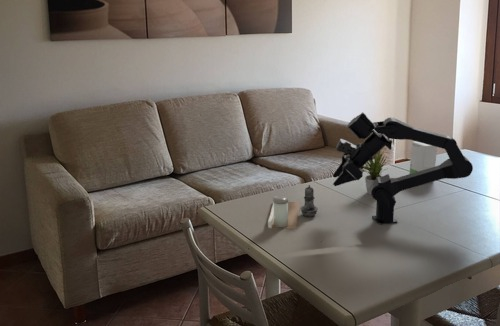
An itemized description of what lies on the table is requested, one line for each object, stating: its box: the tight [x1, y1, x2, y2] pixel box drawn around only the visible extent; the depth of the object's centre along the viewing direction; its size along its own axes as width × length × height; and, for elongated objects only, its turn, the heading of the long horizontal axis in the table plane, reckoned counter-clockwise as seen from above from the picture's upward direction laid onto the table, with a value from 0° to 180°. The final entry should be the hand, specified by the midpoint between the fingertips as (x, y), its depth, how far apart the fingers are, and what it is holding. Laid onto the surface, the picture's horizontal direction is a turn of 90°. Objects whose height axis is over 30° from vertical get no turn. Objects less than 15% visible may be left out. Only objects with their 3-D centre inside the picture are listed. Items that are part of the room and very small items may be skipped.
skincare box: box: [408, 141, 438, 174], centre depth 221 cm, size 8×7×16 cm
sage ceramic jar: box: [272, 195, 289, 228], centre depth 175 cm, size 5×5×9 cm
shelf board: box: [271, 201, 301, 230], centre depth 186 cm, size 9×25×1 cm, turn 172°
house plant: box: [362, 150, 389, 196], centre depth 207 cm, size 14×14×16 cm
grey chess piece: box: [299, 184, 319, 217], centre depth 183 cm, size 6×6×12 cm
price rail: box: [267, 195, 278, 229], centre depth 186 cm, size 1×25×3 cm, turn 172°
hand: (333, 180), depth 180 cm, fingers open, 9 cm apart
